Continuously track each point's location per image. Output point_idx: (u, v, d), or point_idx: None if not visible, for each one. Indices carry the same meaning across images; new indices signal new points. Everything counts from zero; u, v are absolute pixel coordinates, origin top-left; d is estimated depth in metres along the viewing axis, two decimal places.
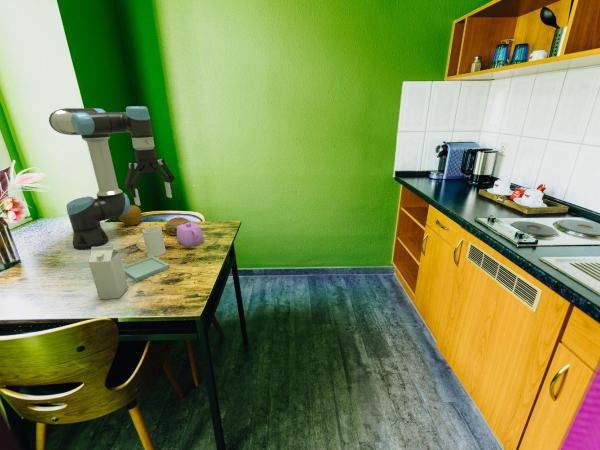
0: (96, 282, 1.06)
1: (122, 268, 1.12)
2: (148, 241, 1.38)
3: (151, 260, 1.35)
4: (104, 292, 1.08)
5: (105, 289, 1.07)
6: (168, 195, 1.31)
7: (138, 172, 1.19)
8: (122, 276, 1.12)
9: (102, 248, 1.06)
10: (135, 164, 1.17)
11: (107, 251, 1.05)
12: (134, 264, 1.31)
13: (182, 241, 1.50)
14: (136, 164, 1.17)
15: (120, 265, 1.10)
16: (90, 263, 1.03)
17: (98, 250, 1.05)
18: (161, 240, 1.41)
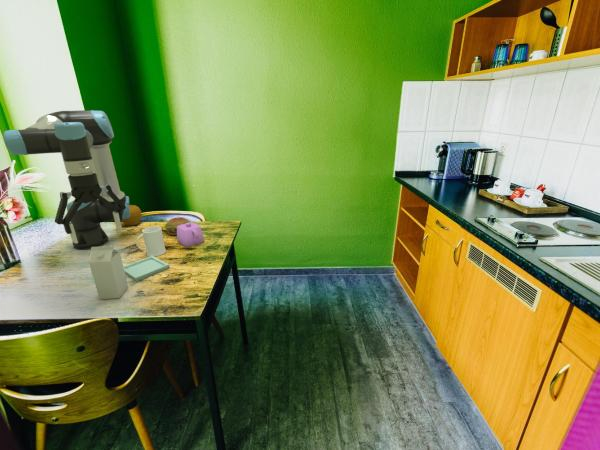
0: (96, 282, 1.06)
1: (122, 268, 1.12)
2: (148, 241, 1.38)
3: (151, 260, 1.35)
4: (104, 292, 1.08)
5: (105, 289, 1.07)
6: (117, 227, 1.08)
7: (74, 203, 0.96)
8: (122, 276, 1.12)
9: (102, 248, 1.06)
10: (69, 193, 0.94)
11: (107, 251, 1.05)
12: (134, 264, 1.31)
13: (182, 241, 1.50)
14: (70, 193, 0.94)
15: (120, 265, 1.10)
16: (90, 263, 1.03)
17: (98, 250, 1.05)
18: (161, 240, 1.41)
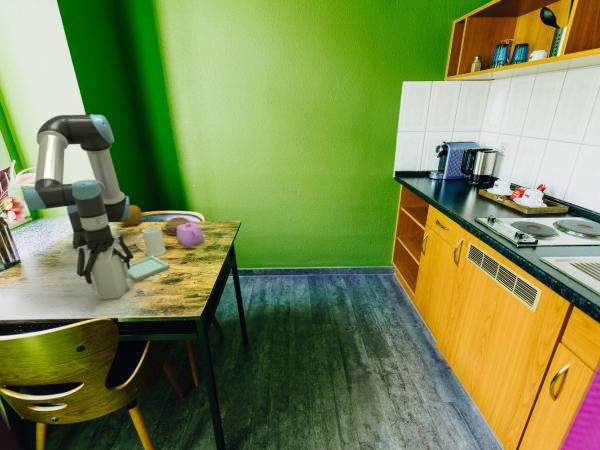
0: (96, 282, 1.06)
1: (122, 268, 1.12)
2: (148, 241, 1.38)
3: (151, 260, 1.35)
4: (104, 292, 1.08)
5: (105, 289, 1.07)
6: None
7: (91, 255, 1.03)
8: (122, 276, 1.12)
9: None
10: (85, 247, 1.01)
11: (107, 251, 1.05)
12: (134, 264, 1.31)
13: (182, 241, 1.50)
14: (86, 247, 1.01)
15: (120, 265, 1.10)
16: None
17: None
18: (161, 240, 1.41)
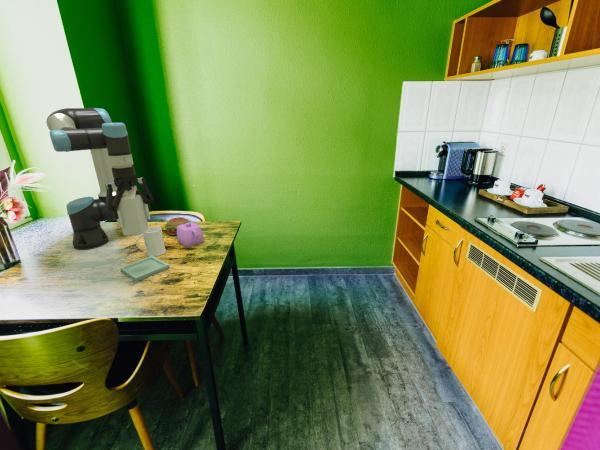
0: None
1: (143, 209, 1.22)
2: (148, 241, 1.38)
3: (151, 260, 1.35)
4: (128, 228, 1.18)
5: (128, 225, 1.18)
6: None
7: (117, 192, 1.14)
8: (144, 216, 1.22)
9: None
10: (112, 184, 1.11)
11: (131, 190, 1.16)
12: (134, 264, 1.31)
13: (182, 241, 1.50)
14: (113, 183, 1.12)
15: (142, 205, 1.21)
16: None
17: None
18: (161, 240, 1.41)
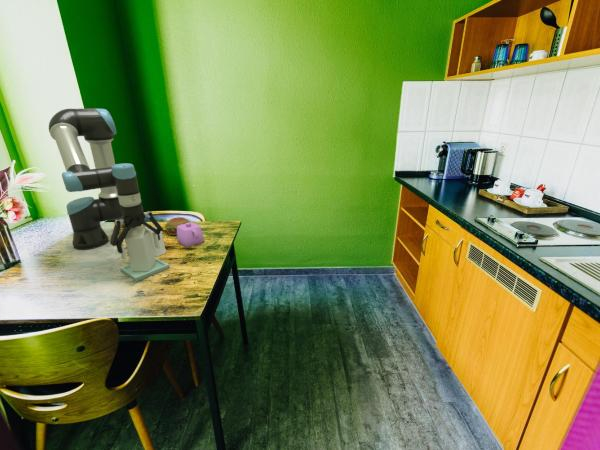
0: (130, 256, 1.23)
1: (151, 245, 1.28)
2: None
3: None
4: (137, 265, 1.24)
5: (137, 262, 1.24)
6: (156, 246, 1.30)
7: (125, 228, 1.19)
8: (151, 252, 1.28)
9: (136, 227, 1.22)
10: (121, 221, 1.17)
11: (140, 230, 1.22)
12: None
13: (182, 241, 1.50)
14: (122, 220, 1.17)
15: (150, 243, 1.27)
16: (126, 239, 1.20)
17: (132, 229, 1.22)
18: (161, 240, 1.41)
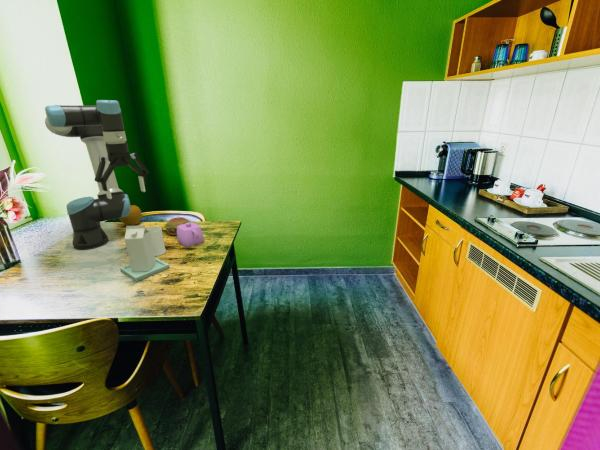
0: (130, 257, 1.23)
1: (151, 245, 1.28)
2: None
3: None
4: (136, 266, 1.24)
5: (137, 263, 1.24)
6: (142, 189, 1.32)
7: (109, 166, 1.20)
8: (151, 252, 1.28)
9: (135, 227, 1.22)
10: (106, 158, 1.18)
11: (140, 230, 1.22)
12: None
13: (182, 241, 1.50)
14: (107, 158, 1.18)
15: (150, 243, 1.27)
16: (125, 240, 1.20)
17: (132, 229, 1.22)
18: (161, 240, 1.41)
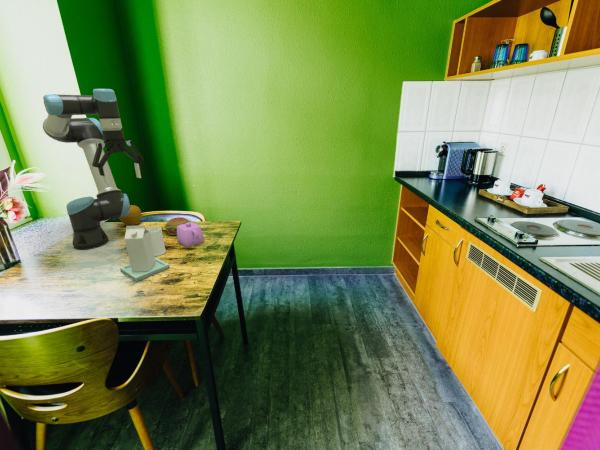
0: (130, 257, 1.23)
1: (151, 245, 1.28)
2: None
3: None
4: (136, 266, 1.24)
5: (137, 263, 1.24)
6: (137, 175, 1.38)
7: (106, 152, 1.26)
8: (151, 252, 1.28)
9: (135, 227, 1.22)
10: (103, 144, 1.24)
11: (140, 230, 1.22)
12: None
13: (182, 241, 1.50)
14: (104, 144, 1.24)
15: (150, 243, 1.27)
16: (125, 240, 1.20)
17: (132, 229, 1.22)
18: (161, 240, 1.41)
